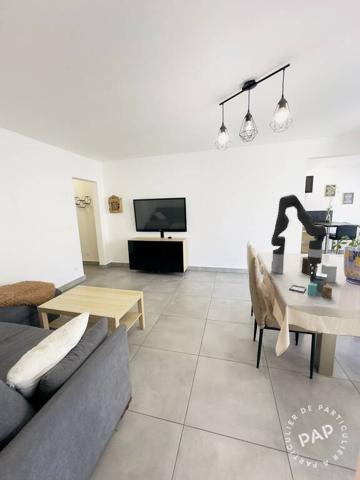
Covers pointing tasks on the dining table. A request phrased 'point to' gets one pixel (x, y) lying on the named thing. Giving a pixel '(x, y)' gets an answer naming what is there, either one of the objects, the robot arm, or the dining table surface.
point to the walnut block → (327, 291)
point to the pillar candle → (305, 266)
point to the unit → (320, 281)
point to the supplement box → (329, 272)
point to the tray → (297, 288)
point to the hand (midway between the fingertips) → (312, 279)
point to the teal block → (312, 289)
